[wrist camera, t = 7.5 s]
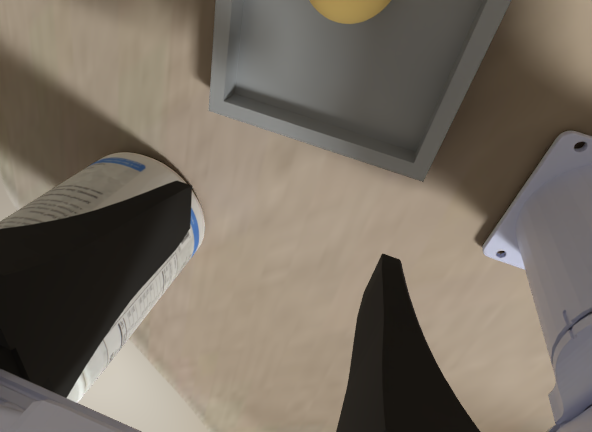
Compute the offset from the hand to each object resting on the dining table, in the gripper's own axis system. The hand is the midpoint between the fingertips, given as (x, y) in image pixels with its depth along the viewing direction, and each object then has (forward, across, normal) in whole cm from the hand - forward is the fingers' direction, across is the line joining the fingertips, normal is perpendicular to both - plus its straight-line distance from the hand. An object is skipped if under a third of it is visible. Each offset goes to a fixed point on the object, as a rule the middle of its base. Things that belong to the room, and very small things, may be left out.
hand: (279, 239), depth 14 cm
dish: (+10, +1, -6) cm, 12 cm away
